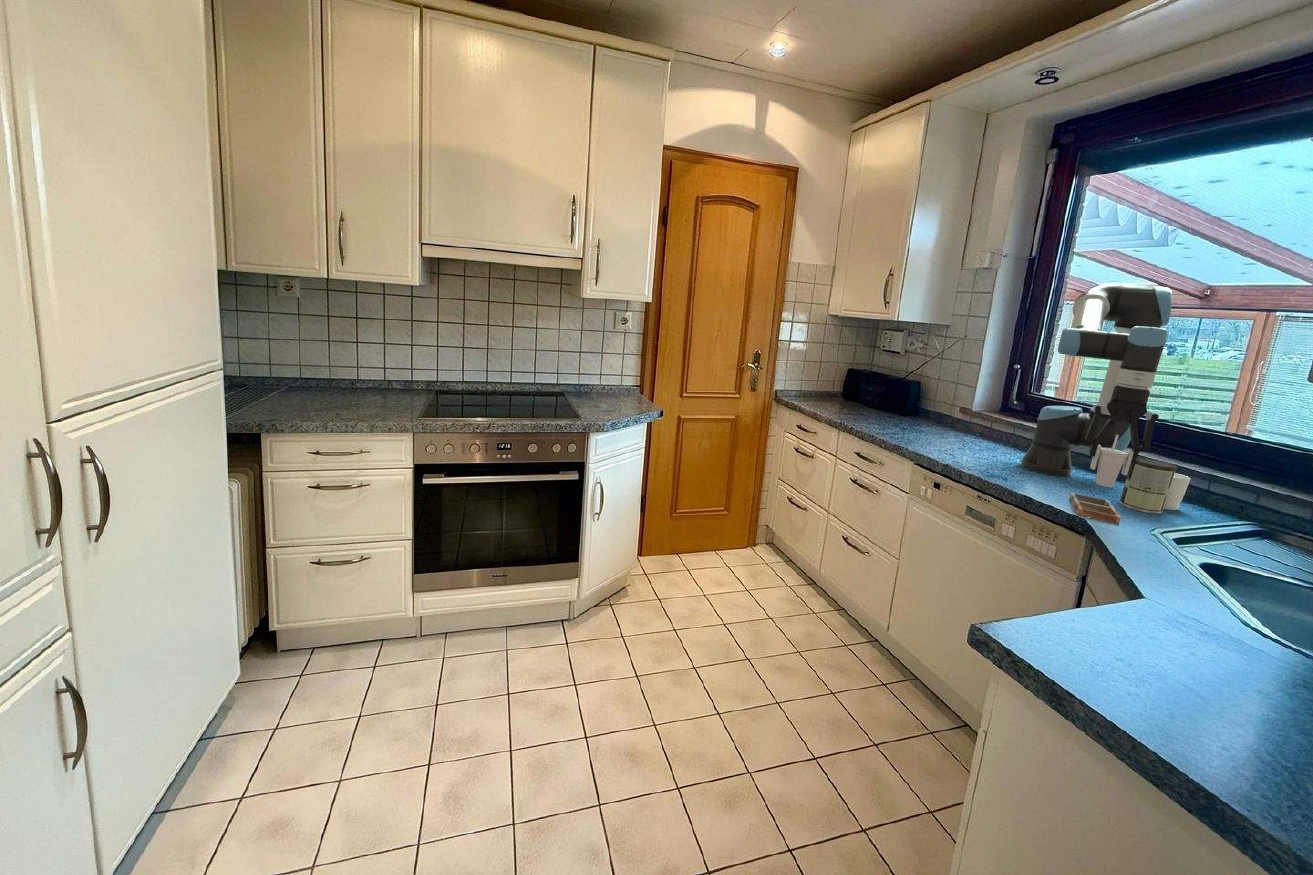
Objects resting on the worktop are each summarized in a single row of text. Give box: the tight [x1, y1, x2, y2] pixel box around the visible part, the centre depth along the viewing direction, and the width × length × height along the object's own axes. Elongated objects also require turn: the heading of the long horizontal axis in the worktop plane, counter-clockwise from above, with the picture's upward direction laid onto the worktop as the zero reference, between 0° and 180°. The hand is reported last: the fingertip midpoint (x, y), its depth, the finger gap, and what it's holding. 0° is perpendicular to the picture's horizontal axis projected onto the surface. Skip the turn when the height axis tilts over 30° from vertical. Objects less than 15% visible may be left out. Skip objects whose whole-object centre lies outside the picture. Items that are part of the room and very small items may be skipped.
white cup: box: [1163, 472, 1191, 511], centre depth 175 cm, size 8×8×10 cm
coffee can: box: [1119, 456, 1178, 515], centre depth 171 cm, size 10×10×14 cm
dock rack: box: [1068, 492, 1122, 525], centre depth 164 cm, size 18×9×2 cm, turn 151°
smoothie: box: [1095, 435, 1129, 488], centre depth 156 cm, size 6×6×14 cm
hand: (1108, 471), depth 157 cm, fingers closed on smoothie, 6 cm apart
